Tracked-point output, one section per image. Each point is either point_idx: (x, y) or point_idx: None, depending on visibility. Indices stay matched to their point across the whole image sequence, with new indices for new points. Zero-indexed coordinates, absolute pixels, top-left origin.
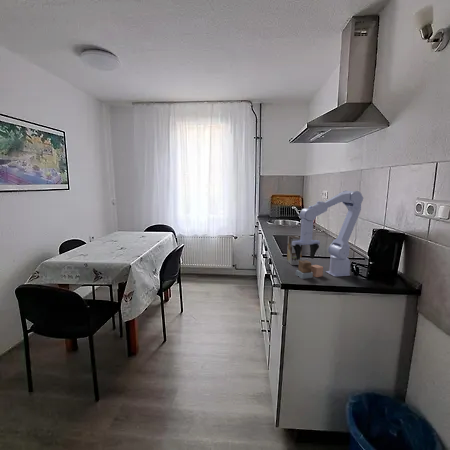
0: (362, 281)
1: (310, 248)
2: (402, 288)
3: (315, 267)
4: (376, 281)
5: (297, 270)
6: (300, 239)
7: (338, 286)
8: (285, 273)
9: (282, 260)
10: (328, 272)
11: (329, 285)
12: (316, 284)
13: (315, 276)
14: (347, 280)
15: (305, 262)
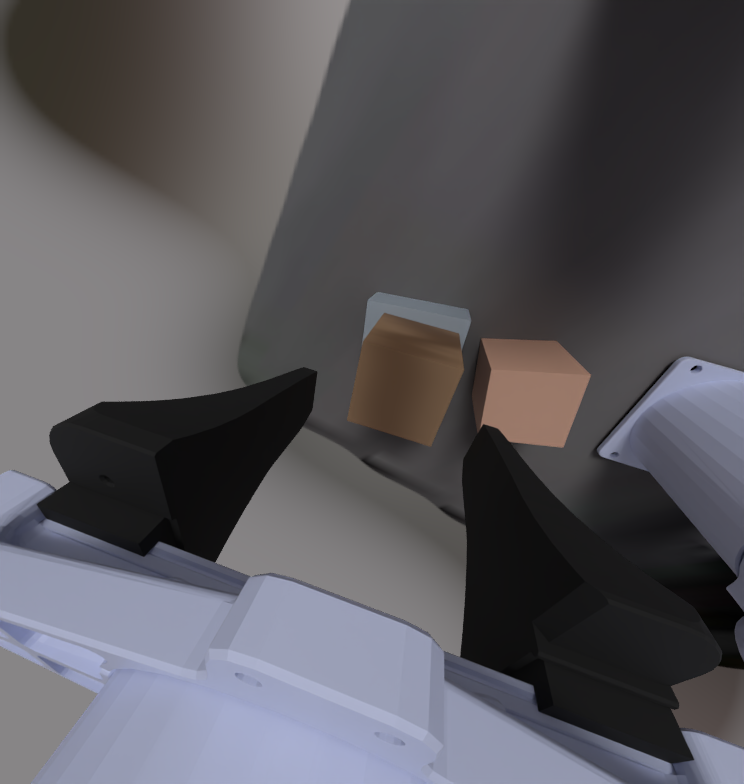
0: (648, 552)
1: (526, 519)
2: None
3: (481, 425)
4: (720, 587)
5: (372, 315)
6: (52, 757)
7: (452, 516)
8: (321, 223)
9: None
10: (653, 394)
11: (424, 492)
12: (375, 458)
13: (473, 392)
14: (591, 509)
15: (383, 415)
